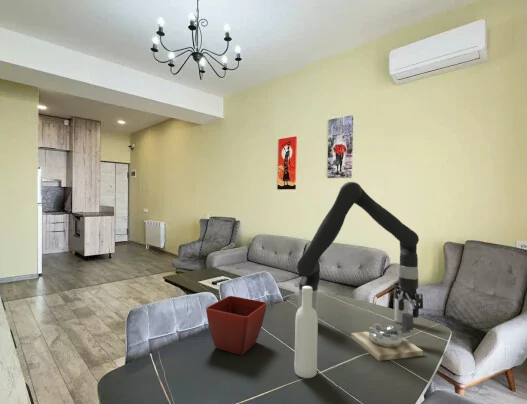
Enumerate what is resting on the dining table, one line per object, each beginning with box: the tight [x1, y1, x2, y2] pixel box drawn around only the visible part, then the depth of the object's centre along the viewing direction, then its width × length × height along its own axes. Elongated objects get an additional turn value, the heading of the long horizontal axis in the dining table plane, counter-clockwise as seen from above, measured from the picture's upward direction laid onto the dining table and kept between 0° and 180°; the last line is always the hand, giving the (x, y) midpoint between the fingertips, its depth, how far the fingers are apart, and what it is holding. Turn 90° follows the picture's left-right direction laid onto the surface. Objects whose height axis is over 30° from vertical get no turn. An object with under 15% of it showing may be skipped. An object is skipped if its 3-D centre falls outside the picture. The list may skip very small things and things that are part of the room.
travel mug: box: [394, 282, 409, 326], centre depth 151 cm, size 6×7×20 cm
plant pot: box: [205, 295, 267, 356], centre depth 123 cm, size 19×19×17 cm
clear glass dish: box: [368, 312, 414, 348], centre depth 126 cm, size 19×13×10 cm
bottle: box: [293, 286, 319, 379], centre depth 105 cm, size 8×8×30 cm
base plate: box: [350, 330, 424, 362], centre depth 125 cm, size 20×20×2 cm
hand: (408, 313), depth 128 cm, fingers open, 8 cm apart
